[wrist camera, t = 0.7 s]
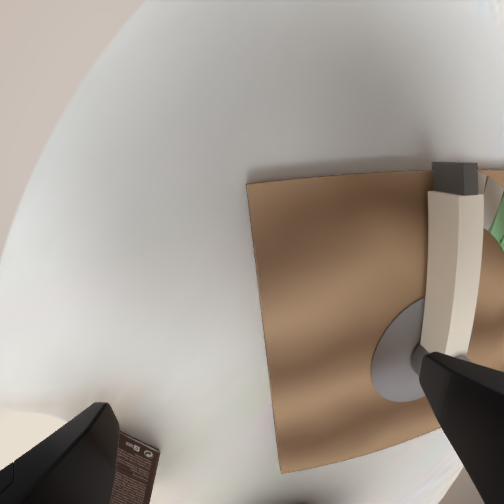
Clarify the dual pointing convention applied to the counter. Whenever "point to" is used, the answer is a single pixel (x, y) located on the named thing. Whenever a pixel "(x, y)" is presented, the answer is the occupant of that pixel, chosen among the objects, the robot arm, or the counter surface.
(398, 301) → the dial board
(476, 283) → the dial lever
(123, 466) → the box
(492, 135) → the counter surface
